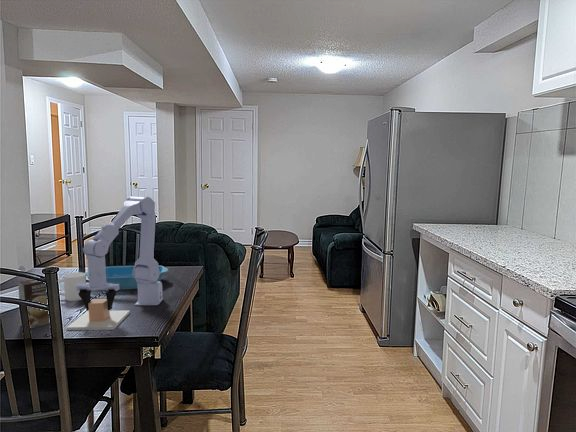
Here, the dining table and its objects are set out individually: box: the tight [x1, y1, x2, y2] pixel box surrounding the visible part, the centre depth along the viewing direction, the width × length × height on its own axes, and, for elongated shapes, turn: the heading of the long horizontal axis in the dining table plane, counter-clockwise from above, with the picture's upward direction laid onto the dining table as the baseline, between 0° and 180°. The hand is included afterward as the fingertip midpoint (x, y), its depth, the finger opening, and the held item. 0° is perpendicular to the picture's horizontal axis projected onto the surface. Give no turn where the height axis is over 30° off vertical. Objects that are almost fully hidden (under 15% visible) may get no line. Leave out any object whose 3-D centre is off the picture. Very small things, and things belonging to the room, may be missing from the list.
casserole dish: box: [84, 264, 169, 291], centre depth 195 cm, size 37×22×7 cm, turn 101°
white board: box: [66, 310, 131, 331], centre depth 149 cm, size 16×16×6 cm
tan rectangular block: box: [88, 298, 111, 321], centre depth 149 cm, size 5×5×7 cm
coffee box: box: [17, 279, 50, 329], centre depth 146 cm, size 9×6×16 cm
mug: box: [57, 271, 87, 302], centre depth 174 cm, size 12×8×10 cm
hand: (99, 309), depth 149 cm, fingers open, 7 cm apart
